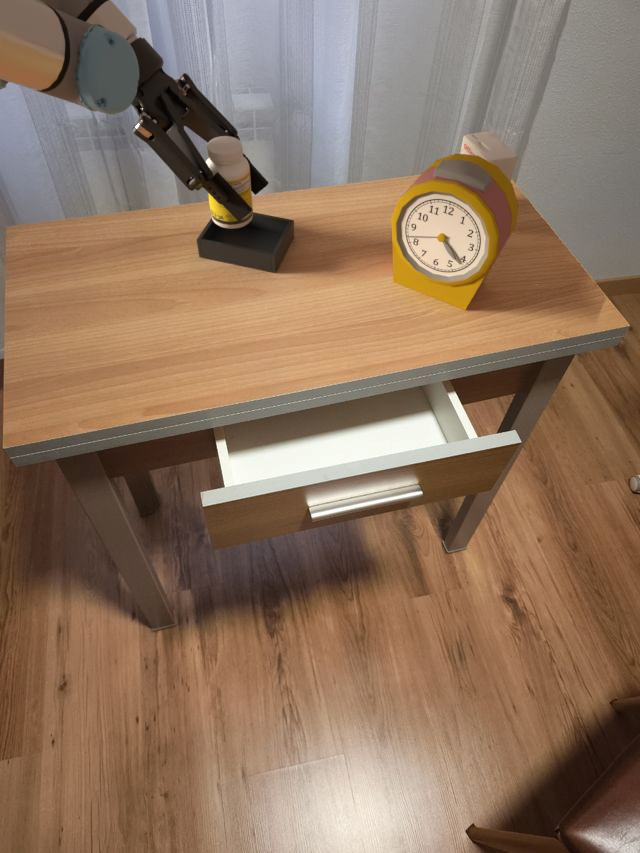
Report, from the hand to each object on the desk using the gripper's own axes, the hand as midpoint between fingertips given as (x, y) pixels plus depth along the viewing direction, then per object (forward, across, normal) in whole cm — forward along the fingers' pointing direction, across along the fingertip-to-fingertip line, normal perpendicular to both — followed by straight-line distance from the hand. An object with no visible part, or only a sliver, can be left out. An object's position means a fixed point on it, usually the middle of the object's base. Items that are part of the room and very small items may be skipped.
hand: (253, 201), depth 81 cm
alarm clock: (+26, -1, +14) cm, 29 cm away
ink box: (+28, -20, +16) cm, 38 cm away
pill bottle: (0, 0, -5) cm, 5 cm away
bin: (+5, 0, -7) cm, 8 cm away
